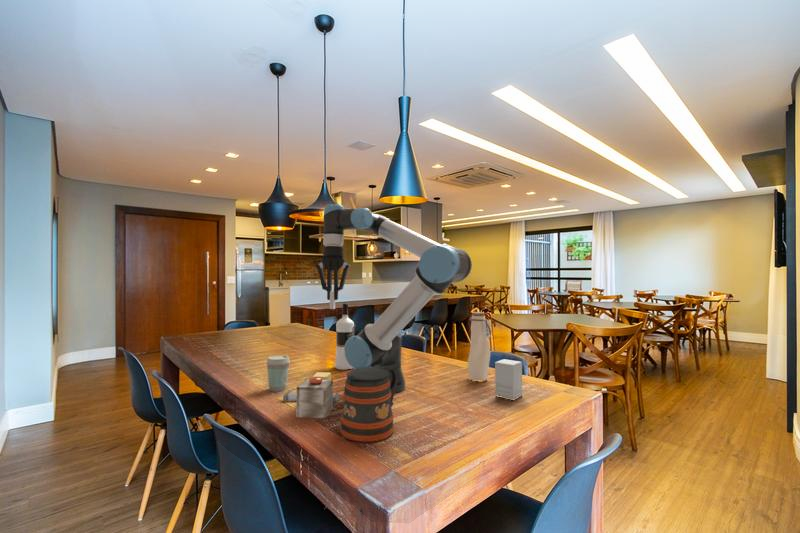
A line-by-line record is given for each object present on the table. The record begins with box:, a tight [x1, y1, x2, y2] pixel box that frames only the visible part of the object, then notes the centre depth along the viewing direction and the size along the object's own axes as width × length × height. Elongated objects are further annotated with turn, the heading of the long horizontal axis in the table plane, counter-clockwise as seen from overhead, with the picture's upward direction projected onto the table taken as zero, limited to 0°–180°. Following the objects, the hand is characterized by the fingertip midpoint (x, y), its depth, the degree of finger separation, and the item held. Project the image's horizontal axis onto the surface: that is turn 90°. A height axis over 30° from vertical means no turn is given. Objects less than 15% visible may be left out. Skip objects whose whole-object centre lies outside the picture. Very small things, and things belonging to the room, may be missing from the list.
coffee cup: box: [265, 354, 291, 393], centre depth 144 cm, size 8×9×12 cm
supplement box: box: [494, 358, 523, 399], centre depth 138 cm, size 7×7×13 cm
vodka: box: [334, 302, 355, 371], centre depth 179 cm, size 9×9×30 cm
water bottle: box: [467, 311, 492, 380], centre depth 161 cm, size 10×9×28 cm
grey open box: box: [295, 378, 334, 419], centre depth 120 cm, size 9×9×9 cm
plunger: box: [308, 376, 322, 385], centre depth 121 cm, size 4×4×5 cm
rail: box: [282, 391, 340, 404], centre depth 132 cm, size 18×5×2 cm, turn 87°
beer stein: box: [339, 354, 400, 443], centre depth 108 cm, size 19×15×20 cm
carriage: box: [312, 371, 332, 380], centre depth 132 cm, size 5×6×8 cm
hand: (332, 308), depth 145 cm, fingers closed
